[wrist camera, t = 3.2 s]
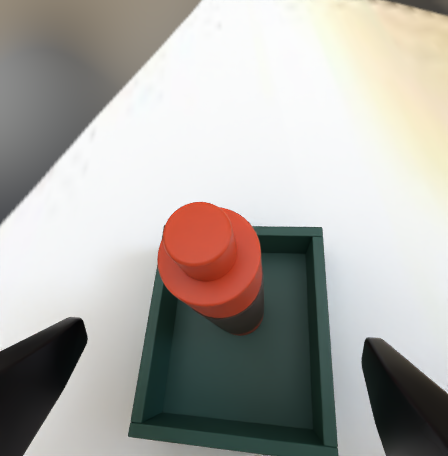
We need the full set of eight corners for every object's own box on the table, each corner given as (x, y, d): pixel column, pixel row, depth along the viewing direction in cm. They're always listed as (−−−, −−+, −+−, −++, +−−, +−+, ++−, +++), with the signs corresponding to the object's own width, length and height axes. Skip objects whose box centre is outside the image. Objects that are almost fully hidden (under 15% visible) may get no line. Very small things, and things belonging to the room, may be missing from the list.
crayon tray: (323, 441, 16) (339, 464, 12) (154, 421, 17) (127, 437, 14) (312, 248, 20) (322, 226, 17) (179, 245, 22) (163, 225, 18)
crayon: (262, 339, 18) (256, 304, 6) (213, 333, 18) (118, 290, 6) (266, 289, 19) (266, 178, 7) (219, 284, 19) (149, 174, 8)
